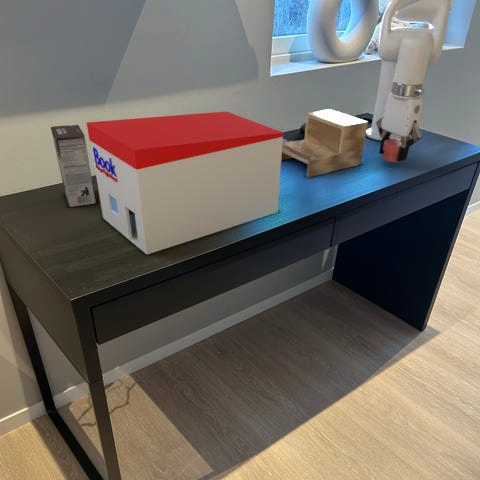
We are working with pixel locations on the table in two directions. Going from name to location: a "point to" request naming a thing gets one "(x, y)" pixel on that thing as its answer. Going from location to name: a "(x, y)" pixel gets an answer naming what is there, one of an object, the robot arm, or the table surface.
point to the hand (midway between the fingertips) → (392, 156)
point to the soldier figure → (284, 140)
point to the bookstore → (184, 175)
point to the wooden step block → (328, 142)
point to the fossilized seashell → (303, 129)
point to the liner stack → (391, 149)
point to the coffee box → (74, 164)
